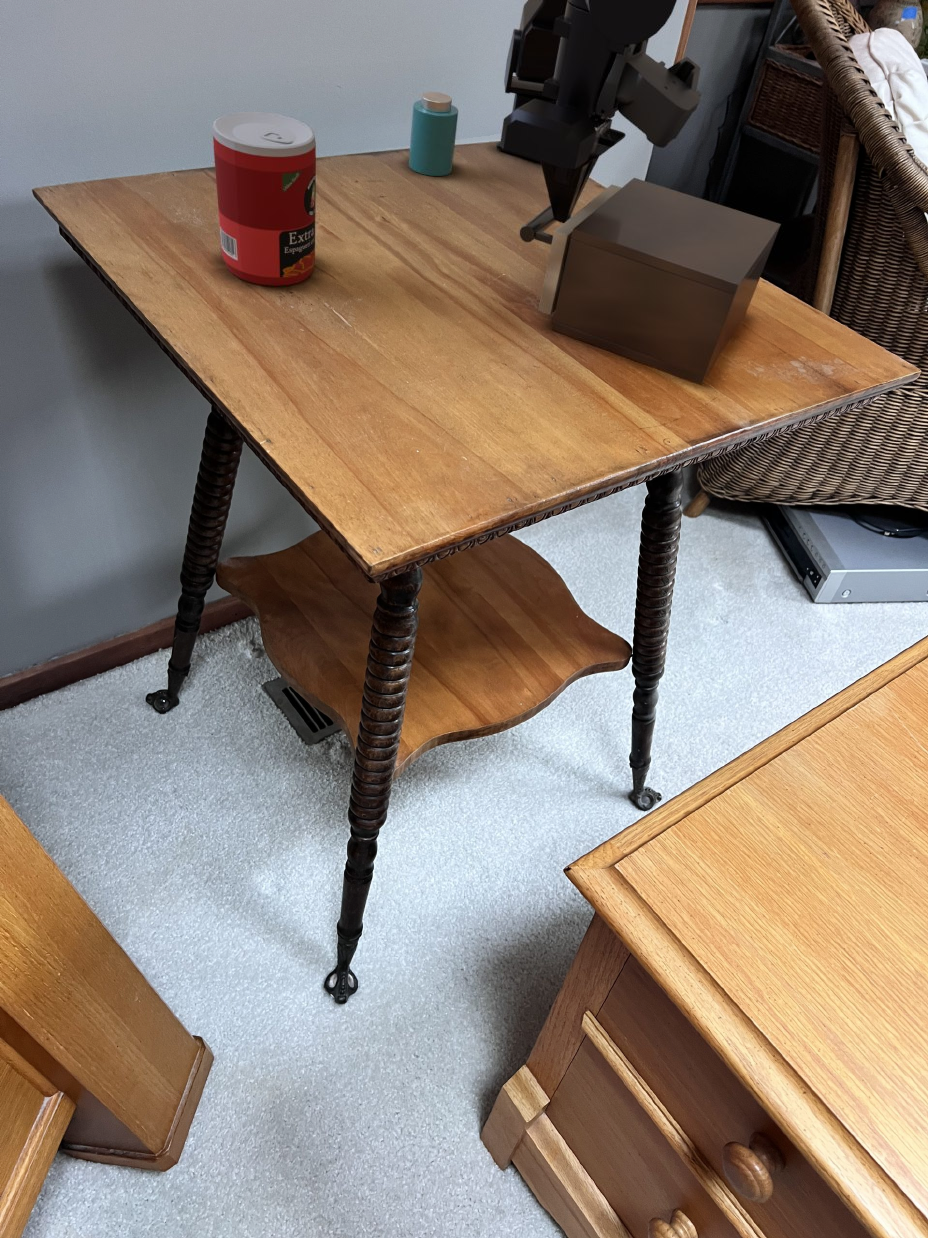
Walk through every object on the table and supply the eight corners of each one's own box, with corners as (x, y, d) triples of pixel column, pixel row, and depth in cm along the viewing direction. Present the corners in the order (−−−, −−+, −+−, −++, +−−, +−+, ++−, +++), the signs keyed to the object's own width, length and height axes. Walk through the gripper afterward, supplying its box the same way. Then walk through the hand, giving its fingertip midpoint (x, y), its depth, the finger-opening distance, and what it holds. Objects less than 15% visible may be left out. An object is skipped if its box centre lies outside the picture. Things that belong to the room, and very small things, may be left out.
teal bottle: (421, 155, 98) (428, 85, 93) (459, 167, 96) (467, 97, 91) (400, 166, 94) (405, 95, 89) (439, 179, 93) (446, 108, 88)
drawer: (493, 294, 75) (506, 214, 70) (553, 243, 84) (568, 169, 79) (674, 360, 71) (701, 281, 66) (717, 300, 80) (744, 226, 75)
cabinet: (550, 329, 74) (573, 228, 68) (609, 270, 83) (633, 176, 77) (701, 385, 71) (738, 284, 64) (744, 317, 80) (781, 223, 74)
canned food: (298, 295, 72) (297, 154, 64) (207, 274, 73) (194, 132, 65) (327, 257, 78) (329, 123, 70) (241, 239, 78) (233, 103, 70)
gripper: (669, 59, 56) (609, 289, 67) (740, 14, 68) (679, 215, 79) (515, 16, 59) (482, 244, 70) (610, -20, 71) (569, 179, 82)
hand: (561, 220), depth 75 cm, fingers closed
